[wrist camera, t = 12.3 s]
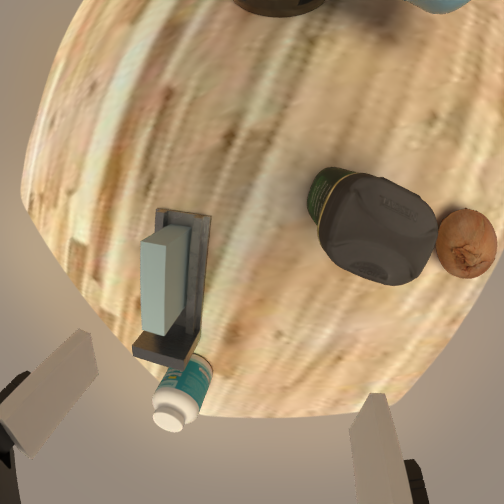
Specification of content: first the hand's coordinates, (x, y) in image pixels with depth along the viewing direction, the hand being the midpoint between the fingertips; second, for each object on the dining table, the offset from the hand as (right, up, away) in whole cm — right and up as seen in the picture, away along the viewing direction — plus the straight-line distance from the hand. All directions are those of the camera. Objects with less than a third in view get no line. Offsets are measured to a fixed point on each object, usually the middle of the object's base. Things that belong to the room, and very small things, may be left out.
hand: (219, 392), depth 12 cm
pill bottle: (-9, -14, +36) cm, 40 cm away
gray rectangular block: (-9, +4, +30) cm, 31 cm away
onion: (+31, +9, +24) cm, 40 cm away
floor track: (-9, +2, +31) cm, 32 cm away
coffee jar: (+13, +13, +25) cm, 31 cm away
